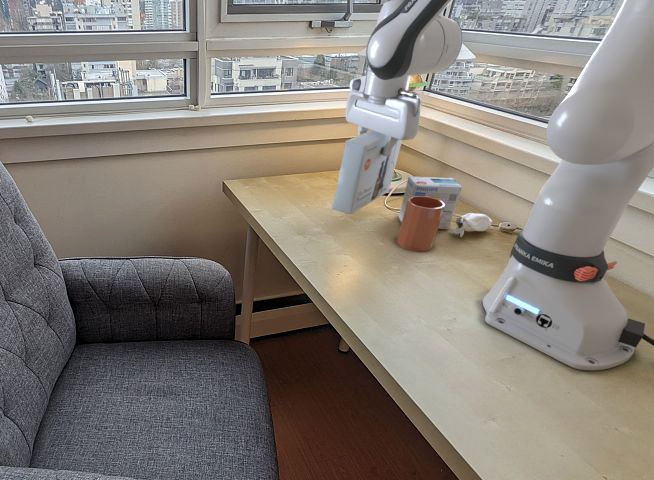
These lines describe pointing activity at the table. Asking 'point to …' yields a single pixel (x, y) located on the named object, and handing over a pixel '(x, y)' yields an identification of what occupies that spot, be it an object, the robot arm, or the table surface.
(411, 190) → the light bulb box
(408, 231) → the pen cup
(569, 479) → the table surface
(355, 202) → the skincare box
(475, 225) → the bird figurine
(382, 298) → the table surface
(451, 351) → the table surface
